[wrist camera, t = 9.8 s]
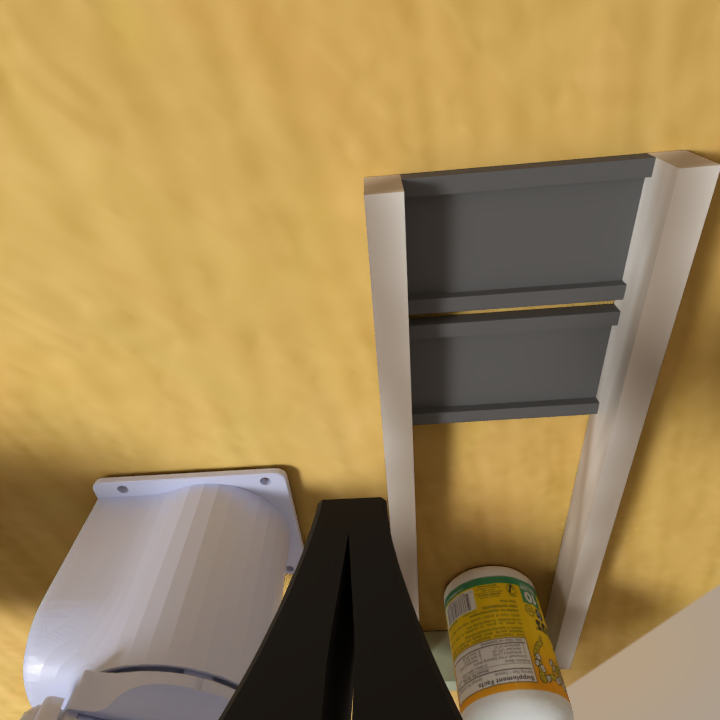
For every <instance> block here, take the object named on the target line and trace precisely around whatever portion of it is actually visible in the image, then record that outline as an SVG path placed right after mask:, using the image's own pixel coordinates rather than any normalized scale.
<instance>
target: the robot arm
mask: <svg viewBox="0 0 720 720" xmlns="http://www.w3.org/2000/svg"><path fill="white" fill-rule="evenodd" d="M264 478H268V479H264ZM93 491H94V493H95V495H96V496H97V498H98V500H97V502H96V503H95V505H94V507H93V509H92V511H91V513H90V514H89V516H88V518H87V520H86V522H85V523H84V525H83V527H82V529H81V531H80V533H79V534H78V536H77V538H76V540H75V542H74V543H73V545H72V547H71V549H70V551H69V553H68V554H67V556H66V558H65V560H64V562H63V563H62V565H61V567H60V569H59V571H58V573H57V574H56V576H55V578H54V580H53V582H52V584H51V585H50V587H49V589H48V591H47V593H46V594H45V596H44V598H43V600H42V602H41V604H40V606H39V608H38V610H37V612H36V615H35V617H34V620H33V623H32V625H31V629H30V633H29V636H28V640H27V645H26V650H25V655H24V664H23V679H24V685H25V690H26V694H27V697H28V700H29V702H30V704H31V706H32V707H33V708H31V709H30V710H28V711H26V712H25V713H24V714H23V715H22V717H21V719H20V720H351V711H352V700H353V713H352V720H463V718H462V716H461V714H460V712H459V710H458V708H457V706H456V704H455V702H454V700H453V698H452V696H451V694H450V692H449V689H448V687H447V685H446V683H445V681H444V679H443V677H442V674H441V672H440V670H439V668H438V665H437V663H436V661H435V659H434V656H433V654H432V652H431V649H430V647H429V644H428V642H427V640H426V637H425V635H424V632H423V630H422V627H421V625H420V622H419V620H418V617H417V615H416V612H415V609H414V607H413V604H412V601H411V598H410V595H409V593H408V590H407V587H406V584H405V581H404V578H403V575H402V572H401V569H400V566H399V563H398V559H397V556H396V552H395V548H394V544H393V541H392V536H391V532H390V527H389V522H388V515H387V504H386V500H384V499H383V498H381V497H377V498H355V499H333V500H322V501H321V502H320V503H319V504H318V506H317V510H316V514H315V517H314V521H313V524H312V527H311V530H310V533H309V536H308V539H307V541H306V544H305V547H304V545H303V541H302V536H301V532H300V528H299V524H298V519H297V515H296V511H295V506H294V502H293V498H292V494H291V489H290V485H289V481H288V477H287V474H286V472H285V471H284V470H282V469H279V468H268V469H251V470H233V471H215V472H198V473H180V474H163V475H145V476H128V477H110V478H100V479H97V480H96V481H95V483H94V485H93ZM285 574H293V576H292V579H291V581H290V583H289V586H288V588H287V590H286V593H285V595H284V597H283V600H282V595H283V587H284V580H285ZM353 688H354V690H353Z"/></svg>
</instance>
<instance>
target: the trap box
mask: <svg viewBox="0 0 720 720" xmlns="http://www.w3.org/2000/svg"><path fill="white" fill-rule="evenodd" d="M648 154H650V155H652V156H654V157H656V160H655V165H654V169H653V173H652V177H647V178H645V180H644V184H643V189H642V193H641V198H640V202H639V207H638V211H637V216H636V220H635V225H634V229H633V234H632V238H631V243H630V247H629V252H628V256H627V261H626V265H625V270H624V274H623V279H622V280H623V281H624V282H625V283H626V284H627V286H626V291H625V295H624V299H623V300H615V302H614V304H615V306H616V307H617V308H618V309H619V310H620V311H621V313H620V317H619V321H618V325H615V326H612V328H611V333H610V337H609V342H608V346H607V350H606V355H605V359H604V364H603V368H602V373H601V377H600V382H599V386H598V391H597V395H596V398H597V399H598V401H599V403H600V404H599V408H598V413H597V414H590V416H589V421H588V425H587V430H586V435H585V439H584V444H583V448H582V453H581V457H580V462H579V466H578V471H577V476H576V480H575V485H574V489H573V494H572V498H571V503H570V507H569V512H568V517H567V521H566V526H565V530H564V535H563V539H562V544H561V548H560V553H559V558H558V562H557V567H556V571H555V576H554V580H553V585H552V589H551V594H550V599H549V603H548V608H547V612H546V617H545V623H546V626H547V629H548V633H549V637H550V639H551V642H552V646H553V649H554V652H555V655H556V659H557V662H558V665H559V668H560V669H570V668H571V664H572V661H573V658H574V654H575V651H576V648H577V644H578V641H579V638H580V634H581V631H582V628H583V624H584V621H585V618H586V614H587V611H588V608H589V604H590V601H591V598H592V594H593V591H594V588H595V585H596V581H597V578H598V575H599V571H600V568H601V565H602V561H603V558H604V555H605V551H606V548H607V545H608V541H609V538H610V535H611V531H612V528H613V525H614V521H615V518H616V515H617V511H618V508H619V505H620V501H621V498H622V495H623V491H624V488H625V485H626V481H627V478H628V475H629V471H630V468H631V465H632V461H633V458H634V455H635V452H636V448H637V445H638V442H639V438H640V435H641V432H642V428H643V425H644V422H645V418H646V415H647V412H648V408H649V405H650V402H651V398H652V395H653V392H654V388H655V385H656V382H657V378H658V375H659V372H660V368H661V365H662V362H663V358H664V355H665V352H666V348H667V345H668V342H669V338H670V335H671V332H672V328H673V325H674V322H675V319H676V315H677V312H678V309H679V305H680V302H681V299H682V295H683V292H684V289H685V285H686V282H687V279H688V275H689V272H690V269H691V265H692V262H693V259H694V255H695V252H696V249H697V245H698V242H699V239H700V235H701V232H702V229H703V225H704V222H705V219H706V215H707V212H708V209H709V205H710V202H711V199H712V195H713V192H714V189H715V186H716V182H717V179H718V176H719V172H720V164H718V163H716V162H713V161H711V160H708V159H706V158H704V157H701V156H699V155H696V154H694V153H692V152H689V151H687V150H679V151H668V152H656V153H648ZM364 200H365V213H366V226H367V238H368V251H369V263H370V276H371V289H372V301H373V314H374V327H375V339H376V352H377V364H378V377H379V390H380V402H381V415H382V428H383V440H384V453H385V465H386V478H387V491H388V503H389V516H390V528H391V536H392V541H393V544H394V548H395V552H396V556H397V559H398V563H399V566H400V569H401V572H402V575H403V578H404V581H405V584H406V587H407V590H408V593H409V595H410V598H411V601H412V604H413V607H414V609H415V612H416V615H417V617H418V620H419V598H418V570H417V542H416V514H415V485H414V457H413V429H412V401H411V373H410V345H409V317H408V288H407V260H406V232H405V204H404V189H403V185H402V181H401V177H400V175H388V176H376V177H365V178H364ZM424 635H425V637H426V640H427V642H428V644H429V647H430V649H431V652H432V654H433V656H434V659H435V661H436V663H437V665H438V668H439V670H440V672H441V674H442V677H443V679H444V681H445V683H446V685H447V687H448V689H449V691H455V690H457V686H456V679H455V672H454V666H453V659H452V653H451V646H450V639H449V632H448V631H432V632H424Z"/></svg>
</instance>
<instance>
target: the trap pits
mask: <svg viewBox="0 0 720 720" xmlns="http://www.w3.org/2000/svg"><path fill="white" fill-rule="evenodd" d="M655 160H656V157H654V156H652V155H650V154H648V153H644V154H633V155H621V156H609V157H598V158H586V159H574V160H563V161H551V162H539V163H528V164H516V165H504V166H493V167H481V168H469V169H458V170H446V171H434V172H423V173H411V174H400V177H401V181H402V185H403V189H404V204H405V232H406V260H407V288H408V315H415V314H429V313H443V312H457V311H471V310H485V309H499V308H513V307H527V306H541V305H555V304H569V303H583V302H597V301H611V300H623V299H624V295H625V291H626V286H627V284H626V283H625V282H624V281H623V280H622V279H623V274H624V270H625V265H626V261H627V256H628V252H629V247H630V243H631V238H632V234H633V229H634V225H635V220H636V216H637V211H638V207H639V202H640V198H641V193H642V189H643V184H644V180H645V178H647V177H652V173H653V169H654V165H655ZM620 313H621V311H620V310H619V309H618V308H617V307H616V306H615V304H607V305H593V306H579V307H565V308H551V309H537V310H523V311H509V312H495V313H481V314H467V315H453V316H439V317H425V318H411V319H409V345H410V373H411V401H412V425H422V424H439V423H455V422H472V421H488V420H505V419H521V418H538V417H554V416H571V415H587V414H597V413H598V408H599V404H600V403H599V401H598V399H597V398H596V395H597V391H598V386H599V382H600V377H601V373H602V368H603V364H604V359H605V355H606V350H607V346H608V342H609V337H610V333H611V328H612V326H615V325H618V321H619V317H620Z"/></svg>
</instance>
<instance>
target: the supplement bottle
mask: <svg viewBox="0 0 720 720" xmlns="http://www.w3.org/2000/svg"><path fill="white" fill-rule="evenodd" d="M444 605H445V613H446V619H447V626H448V632H449V639H450V646H451V653H452V659H453V666H454V672H455V679H456V686H457V693H458V700H459V707H460V714H461V716H462V718H463V720H573V711H572V707H571V704H570V701H569V698H568V694H567V691H566V688H565V684H564V681H563V678H562V675H561V672H560V668H559V665H558V662H557V659H556V655H555V652H554V649H553V646H552V642H551V639H550V637H549V633H548V629H547V626H546V623H545V620H544V616H543V613H542V610H541V607H540V603H539V600H538V597H537V594H536V591H535V588H534V586H533V584H532V582H531V581H530V579H528V578H527V577H526V576H525V575H523V574H521V573H520V572H518V571H516V570H514V569H511V568H508V567H502V566H485V567H478V568H474V569H471V570H468V571H466V572H464V573H462V574H460V575H458V576H457V577H455V578H454V579H453V580H452V581H451V582H450V583H449V585H448V586H447V588H446V590H445V594H444Z"/></svg>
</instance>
